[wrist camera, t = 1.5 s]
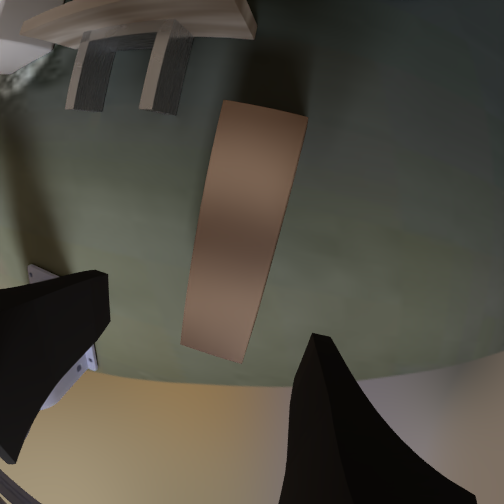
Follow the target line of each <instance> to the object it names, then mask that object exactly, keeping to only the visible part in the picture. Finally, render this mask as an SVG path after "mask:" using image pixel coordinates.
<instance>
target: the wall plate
mask: <svg viewBox="0 0 504 504" xmlns="http://www.w3.org/2000/svg"><path fill="white" fill-rule="evenodd" d="M163 19H176V20H177V21H178V22H179V23H180V24H181V25H182V26H183V27H184V28H186V29H187V30H188V31H189V32H190V33H191V34H192V35H193V36H194V37H223V38H239V39H250V40H254V39H255V34H256V30H257V24H256V22H255V19H254V17H253V14H252V12H251V10H250V7H249V5H248V3H247V1H246V0H74V1H71V2H68V3H65V4H63V5H60V6H58V7H55V8H53V9H50V10H48V11H45V12H43V13H41V14H39V15H36V16H34V17H32V18H30V19H28V20H26V21H24V22H23V25H22V27H21V30H20V33H19V35H22V36H27V37H31V38H36V39H40V40H44V41H48V42H52V43H55V44H59V45H63V46H66V47H70V48H73V49H78V48H79V46H80V42H81V39H82V36H83V33H84V32H86V31H90V30H95V29H99V28H104V27H110V26H115V25H121V24H128V23H135V22H143V21H152V20H163Z"/></svg>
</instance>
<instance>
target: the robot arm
mask: <svg viewBox="0 0 504 504" xmlns="http://www.w3.org/2000/svg"><path fill="white" fill-rule="evenodd" d="M28 275H29V281H30V284H27V285H23V286H18V287H12V288H6V289H0V457H1V458H2V459H3V460H4V461H5V462H6V463H7V464H16V461H17V459H18V456H19V453H20V450H21V448H22V445H23V443H24V440H25V438H26V437H27V435H28V433H29V431H30V428H31V425H32V423H33V421H34V419H35V418H36V416H37V414H38V412H39V411H40V410H43V409H46V408H49V407H51V406H53V405H55V404H56V403H57V402H58V401H59V400H60V399H61V398H62V397H63V396H64V394H65V393H66V392H67V391H68V390H69V389H70V388H71V387H72V386H73V384H74V383H75V382H76V381H77V380H78V379H79V378H80V377H81V375H82V374H83V373H84V372H85V371H86V370H87V369H88V368H89V369H91V370H93V371H96V370H97V369H98V366H97V360H96V355H95V349H94V343H95V342H96V341H97V340H98V338H99V337H100V336H101V334H102V333H103V331H104V330H105V328H106V327H107V325H108V324H109V323H110V321H111V320H110V307H109V288H108V274H106V273H103V272H100V271H97V270H89V271H83V272H78V273H74V274H70V275H65V276H61V277H59V276H57V275H55V274H53V273H50V272H48V271H46V270H44V269H42V268H40V267H37V266H35V265H33V264H30V265H28ZM0 493H1V494H2V495H3V496H4V497H5V498H6V499H7V500H8V501H9V502H11V503H12V504H41V503H40V502H38V501H37V500H36V499H34V498H33V497H32V496H30V495H29V494H28V493H27V492H25V491H24V490H23V489H22V488H21V487H20V486H18V485H17V484H16V483H15V482H14V481H13V480H11V479H10V478H9V477H8V476H7V475H6V474H5V473H4V472H2V470H1V469H0ZM0 504H6V503H5V502H4V500H3V499H2V498H1V497H0ZM279 504H477V501H476V497H475V495H474V494H472V493H470V492H469V491H467V490H465V489H464V488H462V487H460V486H459V485H457V484H455V483H454V482H452V481H450V480H449V479H447V478H446V477H444V476H443V475H442V474H440V473H439V472H438V471H436V470H435V469H434V468H433V467H431V466H430V465H429V464H427V463H426V462H425V461H424V460H423V459H422V458H420V457H419V456H418V455H417V454H416V453H415V452H414V451H413V450H412V449H411V448H410V447H409V446H408V445H406V444H405V443H404V442H403V441H402V440H401V439H400V437H399V436H398V435H397V434H396V433H395V432H394V431H393V430H392V429H391V428H390V426H389V425H388V424H387V423H386V422H385V421H384V419H383V418H382V417H381V416H380V414H379V413H378V412H377V411H376V409H375V408H374V407H373V405H372V404H371V402H370V401H369V400H368V398H367V397H366V395H365V394H364V393H363V391H362V389H361V388H360V386H359V385H358V383H357V382H356V380H355V379H354V377H353V375H352V374H351V372H350V370H349V369H348V367H347V365H346V363H345V362H344V360H343V358H342V356H341V355H340V353H339V351H338V349H337V347H336V346H335V344H334V342H333V340H332V339H331V337H329V336H324V335H319V334H315V333H312V335H311V337H310V340H309V342H308V345H307V348H306V350H305V353H304V355H303V358H302V360H301V363H300V365H299V368H298V370H297V373H296V375H295V378H294V383H293V388H292V394H291V400H290V411H289V430H288V449H287V462H286V471H285V476H284V481H283V486H282V491H281V495H280V500H279Z"/></svg>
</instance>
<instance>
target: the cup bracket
mask: <svg viewBox="0 0 504 504" xmlns="http://www.w3.org/2000/svg"><path fill="white" fill-rule="evenodd" d="M193 40H194V36H193V35H192V34H191V33H190V32H189V31H188V30H187V29H186V28H184V27H183V26H182V25H181V24H180V23H179V22H178V21H177V20H176V19H163V20H152V21H143V22H135V23H128V24H121V25H115V26H110V27H104V28H99V29H95V30H90V31H86V32H84V33H83V36H82V39H81V42H80V46H79V49H78V53H77V57H76V60H75V64H74V68H73V72H72V77H71V81H70V86H69V91H68V96H67V101H66V107H65V109H66V110H80V111H90V112H102V110H103V105H104V100H105V95H106V90H107V85H108V80H109V76H110V72H111V68H112V64H113V60H114V56H115V52H116V51H124V50H135V49H150V48H153V50H152V53H151V57H150V61H149V65H148V69H147V73H146V78H145V82H144V86H143V91H142V96H141V101H140V106H139V109H142V110H147V111H151V112H156V113H160V114H166V115H176V113H177V108H178V103H179V98H180V94H181V89H182V85H183V80H184V76H185V71H186V67H187V63H188V59H189V55H190V51H191V47H192V44H193Z"/></svg>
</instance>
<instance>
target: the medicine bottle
mask: <svg viewBox="0 0 504 504" xmlns="http://www.w3.org/2000/svg"><path fill="white" fill-rule="evenodd" d="M63 3H64V0H0V74H12V73H14V72H15V71H17V70H19V69H20V68H22V67H24V66H25V65H27V64H29V63H30V62H32V61H34V60H36V59H38V58H40V57H41V56H43V55H45V54H47V53H49V52H51V51H52V50H53V45H54V43H52V42H48V41H44V40H40V39H36V38H31V37H27V36H22V35H19V33H20V30H21V27H22V25H23V22H24V21H26V20H28V19H30V18H32V17H34V16H36V15H39V14H41V13H43V12H45V11H48V10H50V9H53V8H55V7H58V6H60V5H63Z"/></svg>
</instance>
